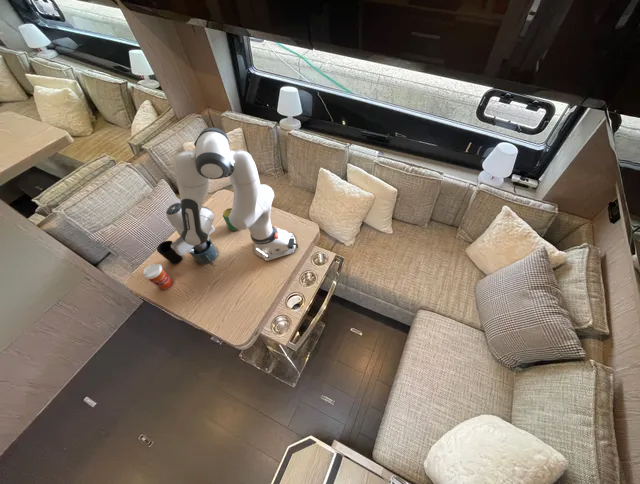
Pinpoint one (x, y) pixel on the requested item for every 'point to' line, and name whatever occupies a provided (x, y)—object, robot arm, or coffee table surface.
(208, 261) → the teal ceramic mug
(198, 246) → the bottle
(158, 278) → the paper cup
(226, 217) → the beverage can
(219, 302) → the coffee table surface
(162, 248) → the cup
